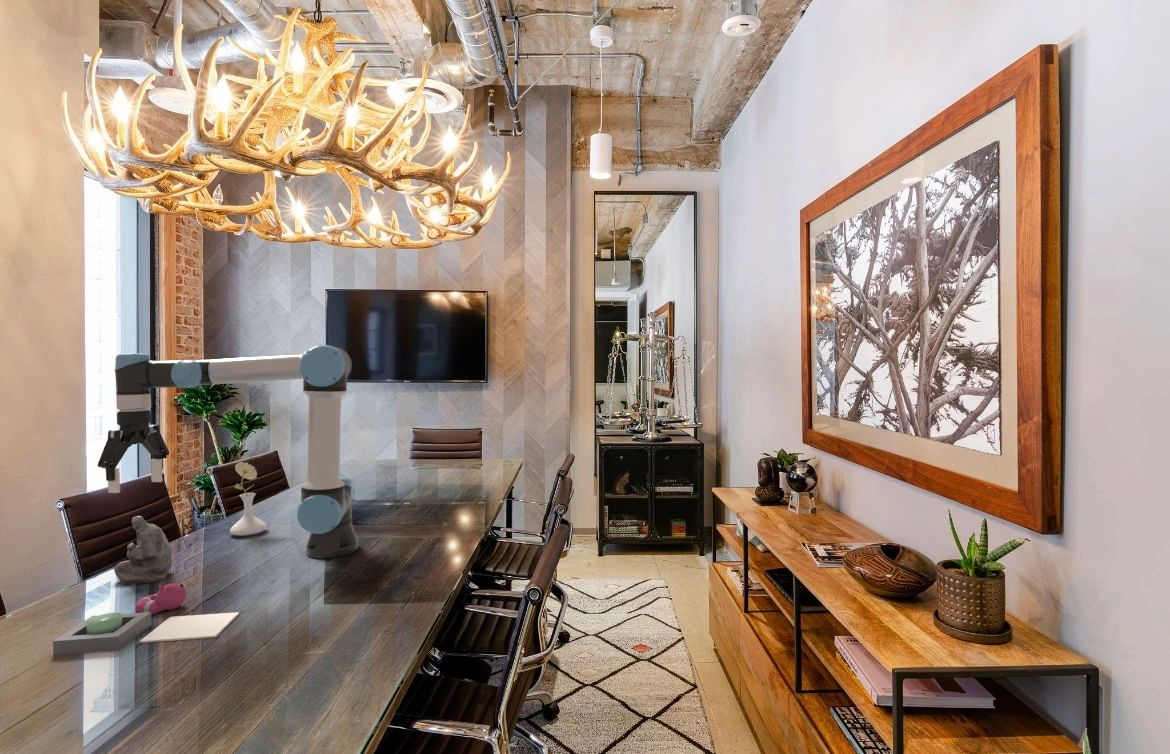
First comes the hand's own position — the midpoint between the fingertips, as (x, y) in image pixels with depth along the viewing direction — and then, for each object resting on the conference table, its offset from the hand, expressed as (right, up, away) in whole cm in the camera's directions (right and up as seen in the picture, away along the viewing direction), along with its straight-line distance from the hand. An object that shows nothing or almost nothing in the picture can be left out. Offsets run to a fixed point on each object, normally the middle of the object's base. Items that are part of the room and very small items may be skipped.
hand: (136, 487), depth 161 cm
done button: (+19, -25, -34) cm, 46 cm away
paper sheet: (+34, -27, -28) cm, 52 cm away
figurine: (0, -26, +2) cm, 26 cm away
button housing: (+19, -27, -34) cm, 47 cm away
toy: (+20, -27, -17) cm, 37 cm away
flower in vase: (+5, -25, +44) cm, 51 cm away
